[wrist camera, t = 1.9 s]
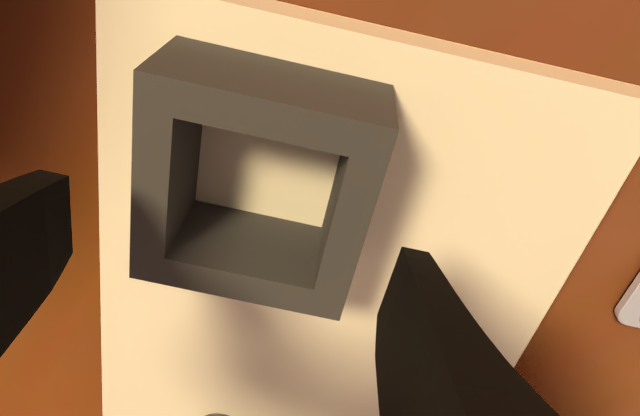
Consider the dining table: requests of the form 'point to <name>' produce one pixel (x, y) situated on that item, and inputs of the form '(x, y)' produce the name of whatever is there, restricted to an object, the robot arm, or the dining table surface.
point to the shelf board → (388, 217)
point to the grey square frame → (238, 225)
